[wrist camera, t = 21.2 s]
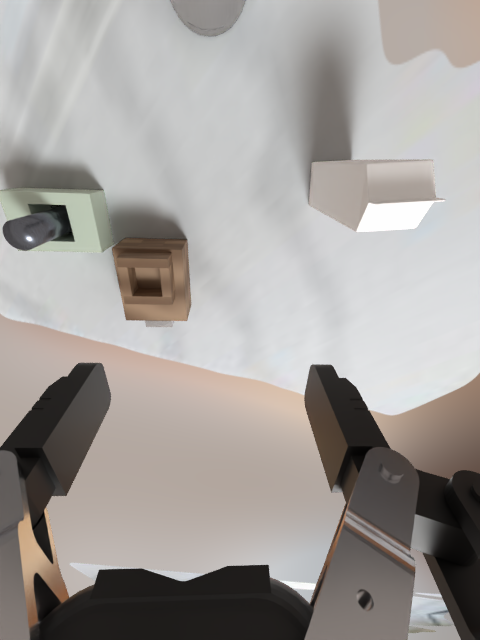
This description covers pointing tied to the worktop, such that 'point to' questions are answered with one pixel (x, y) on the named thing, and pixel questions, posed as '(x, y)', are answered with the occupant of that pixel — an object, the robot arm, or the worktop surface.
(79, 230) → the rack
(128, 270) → the socket block
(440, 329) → the worktop surface
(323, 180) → the milk
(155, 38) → the worktop surface
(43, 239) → the grey peg
